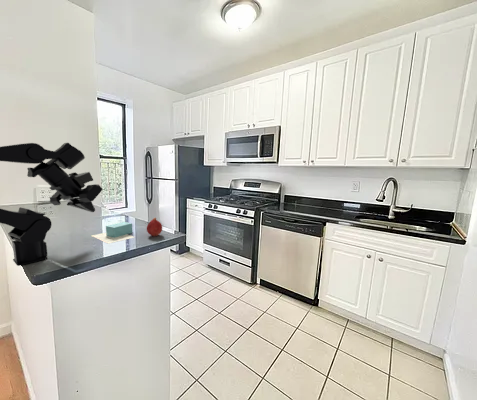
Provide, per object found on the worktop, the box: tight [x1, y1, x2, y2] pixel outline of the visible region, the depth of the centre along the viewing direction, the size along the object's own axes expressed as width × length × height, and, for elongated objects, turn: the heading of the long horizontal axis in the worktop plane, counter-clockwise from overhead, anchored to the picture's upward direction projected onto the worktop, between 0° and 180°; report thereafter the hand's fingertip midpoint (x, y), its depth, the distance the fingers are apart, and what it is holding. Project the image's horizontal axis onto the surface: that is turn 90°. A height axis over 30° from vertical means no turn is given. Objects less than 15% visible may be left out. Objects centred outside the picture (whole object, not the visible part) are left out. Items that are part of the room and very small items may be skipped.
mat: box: [91, 232, 135, 245], centre depth 88 cm, size 10×15×1 cm, turn 53°
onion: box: [146, 217, 163, 237], centre depth 89 cm, size 6×6×8 cm
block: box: [105, 221, 134, 238], centre depth 91 cm, size 4×5×8 cm
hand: (93, 211), depth 81 cm, fingers closed
